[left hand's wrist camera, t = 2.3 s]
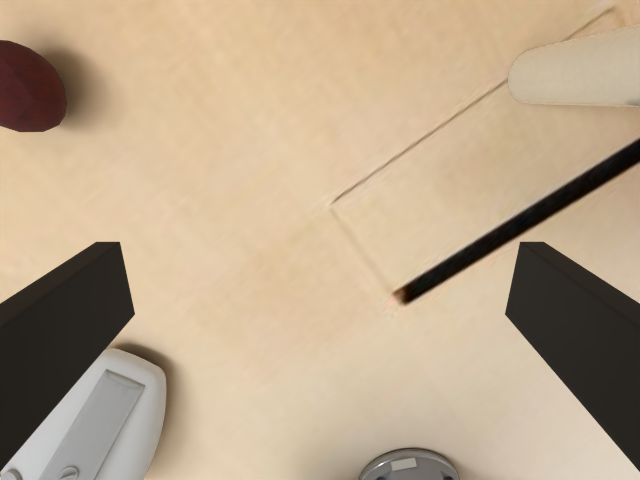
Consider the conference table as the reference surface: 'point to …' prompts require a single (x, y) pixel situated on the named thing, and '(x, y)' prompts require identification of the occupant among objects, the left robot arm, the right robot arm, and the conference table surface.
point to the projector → (99, 425)
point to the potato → (29, 90)
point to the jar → (581, 71)
